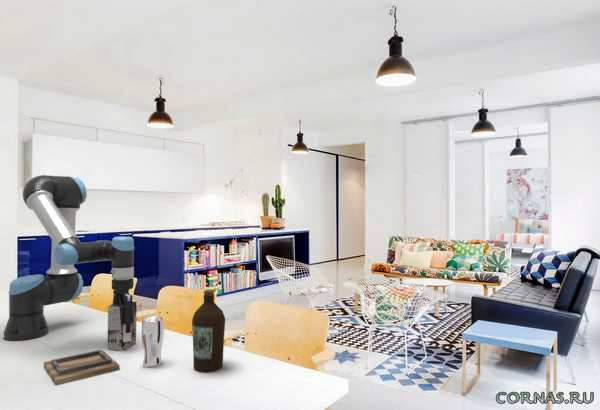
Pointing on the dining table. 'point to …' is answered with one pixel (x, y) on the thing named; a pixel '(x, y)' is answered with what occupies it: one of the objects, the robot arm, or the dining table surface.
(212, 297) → the olive oil
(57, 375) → the pocket board
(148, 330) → the beer glass
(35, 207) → the robot arm
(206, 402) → the dining table surface
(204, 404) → the dining table surface
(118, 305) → the coffee box
